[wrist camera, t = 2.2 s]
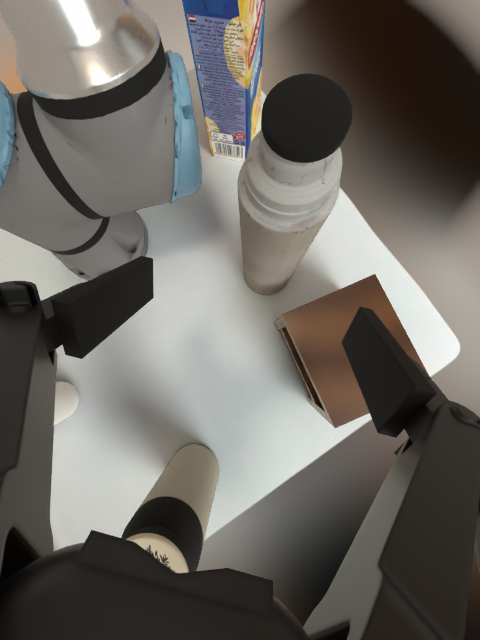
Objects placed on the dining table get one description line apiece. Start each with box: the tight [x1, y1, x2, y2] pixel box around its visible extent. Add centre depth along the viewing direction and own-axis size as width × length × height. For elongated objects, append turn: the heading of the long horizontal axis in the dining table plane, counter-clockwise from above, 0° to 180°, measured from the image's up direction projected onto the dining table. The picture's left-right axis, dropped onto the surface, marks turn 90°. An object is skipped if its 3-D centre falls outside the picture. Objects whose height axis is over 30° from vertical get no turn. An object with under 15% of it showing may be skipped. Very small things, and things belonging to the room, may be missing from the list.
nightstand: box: [274, 274, 432, 428], centre depth 33 cm, size 15×13×10 cm
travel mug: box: [122, 444, 219, 573], centre depth 28 cm, size 8×8×18 cm
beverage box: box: [182, 0, 265, 162], centre depth 32 cm, size 7×11×22 cm, turn 168°
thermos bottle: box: [238, 74, 352, 295], centre depth 26 cm, size 8×8×28 cm
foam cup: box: [54, 382, 79, 426], centre depth 32 cm, size 10×9×13 cm
